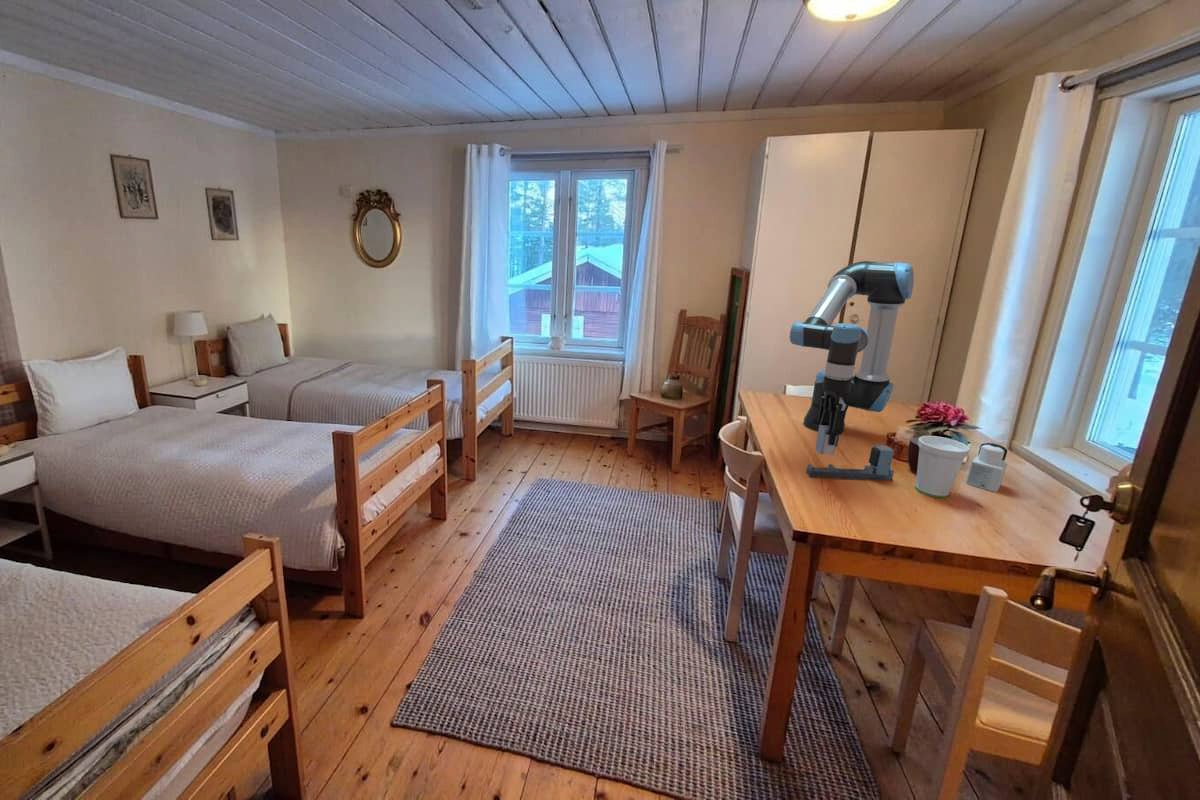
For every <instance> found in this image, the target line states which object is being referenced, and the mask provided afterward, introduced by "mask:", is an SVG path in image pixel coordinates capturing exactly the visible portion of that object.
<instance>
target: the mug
mask: <svg viewBox="0 0 1200 800" xmlns="http://www.w3.org/2000/svg"><path fill="white" fill-rule="evenodd" d="M919 438H920V437H913V438H911V439H910V440H909V443H908V449H907V463H908V466H909V469H910V471H911V472H912V473H915V474H917V468H918V458H919V446H918V440H919Z"/></svg>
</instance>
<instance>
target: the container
mask: <svg viewBox="0 0 1200 800" xmlns="http://www.w3.org/2000/svg"><path fill="white" fill-rule="evenodd" d="M1007 453H1008V449H1007V448H1006V447H1004V446H1003V445H1000V444H997V443H991V442H986V443H982V444H980V447H979V450H978V453H977V455H976V456H975V457H974V458H973V460H972V461H971V465H970V467H969V468H970V469H969V471H968V475H967V480H966V484H967V485H970V486H973V487H977V488H980V489H984V490H986V491H990V492H994V493H997V492H998V491H999V489H1000V487H1002V484H1003V480H1004V476H1005V473H1006V470H1007V466H1008V462H1007V461H1005V460H1006V457H1007Z"/></svg>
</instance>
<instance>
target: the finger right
mask: <svg viewBox="0 0 1200 800" xmlns="http://www.w3.org/2000/svg"><path fill="white" fill-rule="evenodd" d="M828 430H829V425H819V430H818V431H817V437H816V442H815V449H814V450H815V451H816V452H818V454H820V455H824V454H823V449H824V444H825V439H826V432H828ZM839 438H840V435H836V440H835V445H834V450H833V455H832V456H834V454H835V449H836V447H838V443H839ZM826 455H828V456H830V455H829V454H826Z"/></svg>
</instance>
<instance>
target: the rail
mask: <svg viewBox="0 0 1200 800" xmlns="http://www.w3.org/2000/svg"><path fill="white" fill-rule="evenodd" d="M894 452H895V450H893V449H892V448H891V447H889V446H887V445H878V444H877V445H873V446H872V447H871V450H870V455H869V458H868V463H869V465H864V468H863V469H861V468H839V467H836V466H834V464H832V463H828V466H827V467H815V465H813V464H812V463H810V462H808V463H807V466H806V472H805V474H806V473H807V474H808V475H809V476H808V475H807V474H806V475H807V476H808V477H809V478H816V477H821V479H845V480H846V479H847V480H848V479H849V480H870V481H871V480H872V481H893V478H894V473H895V469H894V468H892V467H891V464H892V460H893V457H894Z"/></svg>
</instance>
